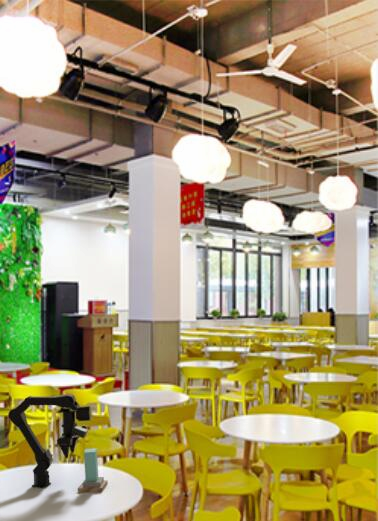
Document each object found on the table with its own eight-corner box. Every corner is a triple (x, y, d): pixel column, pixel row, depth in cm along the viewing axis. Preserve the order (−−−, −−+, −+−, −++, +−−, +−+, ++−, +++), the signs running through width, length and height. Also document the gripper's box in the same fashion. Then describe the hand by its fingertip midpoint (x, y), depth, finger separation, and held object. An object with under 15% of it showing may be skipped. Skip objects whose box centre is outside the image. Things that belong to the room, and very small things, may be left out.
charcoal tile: (82, 487, 259) (82, 482, 259) (86, 481, 267) (86, 477, 267) (100, 487, 259) (100, 482, 259) (103, 481, 267) (103, 477, 267)
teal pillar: (85, 481, 261) (84, 452, 261) (87, 477, 266) (85, 449, 266) (96, 480, 261) (95, 451, 262) (98, 476, 266) (96, 448, 267)
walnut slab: (77, 494, 258) (77, 488, 258) (84, 486, 269) (84, 480, 269) (102, 493, 257) (102, 488, 257) (107, 486, 268) (107, 480, 268)
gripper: (80, 425, 263) (81, 460, 262) (90, 417, 281) (91, 450, 280) (56, 425, 264) (57, 460, 263) (68, 417, 282) (69, 450, 281)
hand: (69, 455), depth 272 cm, fingers open, 9 cm apart
